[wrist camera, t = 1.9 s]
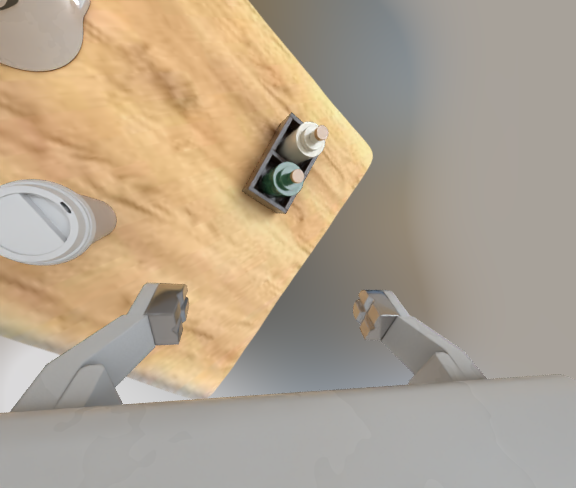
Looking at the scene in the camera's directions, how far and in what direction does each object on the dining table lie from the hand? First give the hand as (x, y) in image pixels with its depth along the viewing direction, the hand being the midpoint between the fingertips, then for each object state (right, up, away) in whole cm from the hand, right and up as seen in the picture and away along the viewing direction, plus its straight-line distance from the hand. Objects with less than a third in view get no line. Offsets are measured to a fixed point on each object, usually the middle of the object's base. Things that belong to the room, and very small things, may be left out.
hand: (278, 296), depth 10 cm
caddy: (-2, +18, +37) cm, 41 cm away
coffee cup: (-32, +7, +26) cm, 42 cm away
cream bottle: (+1, +22, +36) cm, 42 cm away
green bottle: (-3, +15, +36) cm, 39 cm away
